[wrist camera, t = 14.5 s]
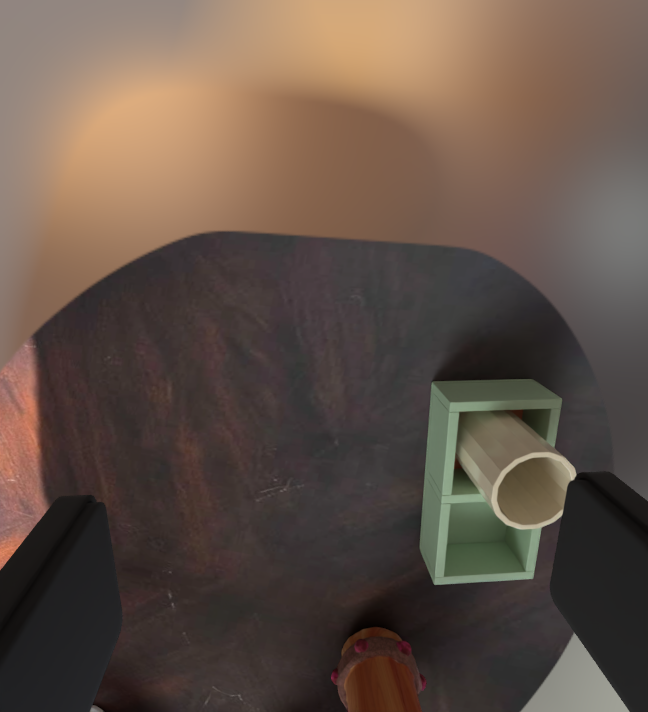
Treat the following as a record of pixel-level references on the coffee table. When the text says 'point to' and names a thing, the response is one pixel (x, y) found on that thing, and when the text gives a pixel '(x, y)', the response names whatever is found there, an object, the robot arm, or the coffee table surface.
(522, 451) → the paper cup
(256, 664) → the coffee table surface
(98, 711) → the lattice window wall
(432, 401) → the cup holder
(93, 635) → the robot arm
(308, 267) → the coffee table surface
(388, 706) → the mug
